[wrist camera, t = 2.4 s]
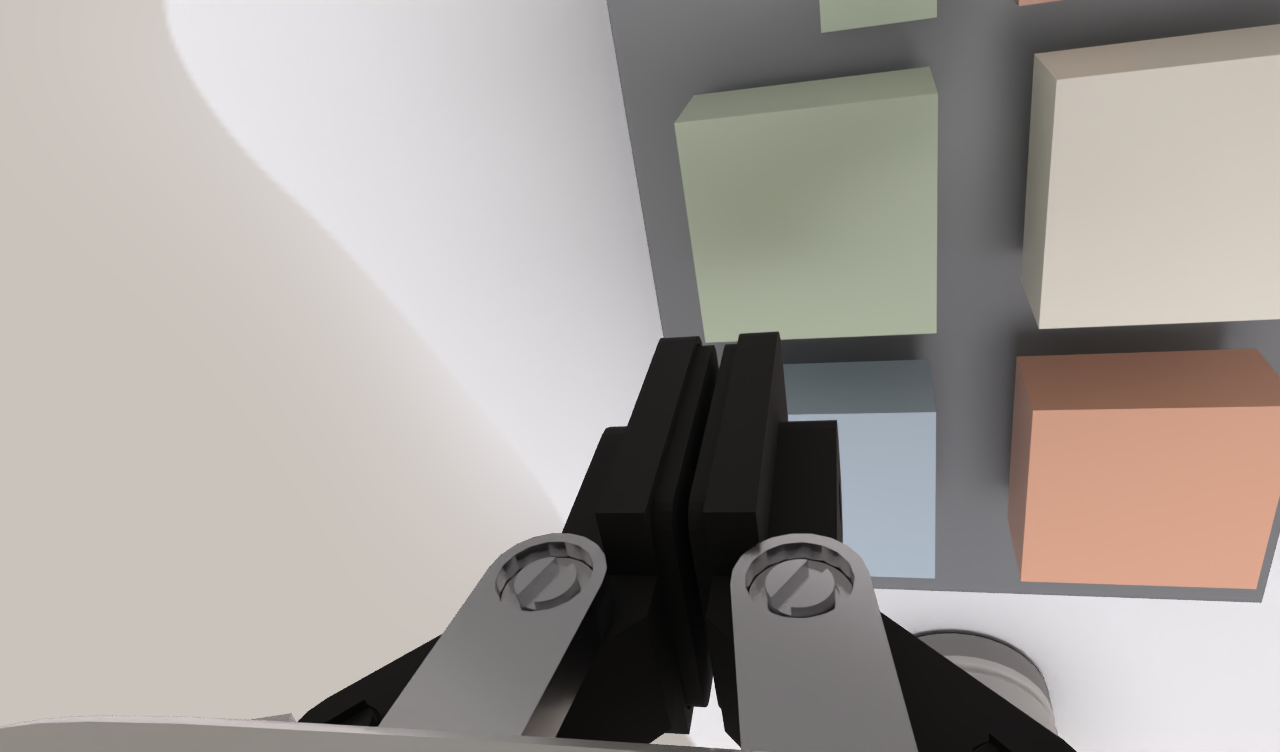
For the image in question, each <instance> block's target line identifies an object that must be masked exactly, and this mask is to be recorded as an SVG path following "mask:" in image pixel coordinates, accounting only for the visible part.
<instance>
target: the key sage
mask: <svg viewBox="0 0 1280 752" xmlns="http://www.w3.org/2000/svg"><path fill="white" fill-rule="evenodd" d="M674 126H675V133H676V140H677V147H678V154H679V161H680V168H681V175H682V182H683V189H684V196H685V203H686V210H687V217H688V224H689V231H690V238H691V245H692V252H693V259H694V266H695V273H696V280H697V287H698V294H699V301H700V308H701V315H702V322H703V329H704V336H705V343H710V342H735V341H738V337H739V334H743V333H760V332H778V331H779V334H780V339H781V340H784V339H808V338H832V337H857V336H881V335H906V334H930V333H936V332H937V172H938V92H937V89H936V85H935V82H934V79H933V76H932V73H931V69H930V67H921V68H913V69H905V70H897V71H888V72H880V73H872V74H864V75H856V76H847V77H839V78H831V79H823V80H814V81H806V82H798V83H790V84H782V85H773V86H765V87H757V88H749V89H740V90H732V91H724V92H716V93H708V94H699V95H694V96H693V97H692V99H691V100H690V102H689V103H688V104H687V106H686V107H685V109H684V110H683V111H682V113H681V114H680V116H679V117H678V118H677V120H676V121H675V123H674Z"/></svg>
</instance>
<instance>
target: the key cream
mask: <svg viewBox="0 0 1280 752" xmlns="http://www.w3.org/2000/svg"><path fill="white" fill-rule="evenodd" d="M1021 282H1022V285H1023V287H1024V290H1025V293H1026V296H1027V298H1028V301H1029V304H1030V306H1031V309H1032V312H1033V314H1034V317H1035V320H1036V323H1037V325H1038V328H1039V329H1052V328H1076V327H1101V326H1125V325H1150V324H1174V323H1198V322H1223V321H1247V320H1271V319H1280V24H1275V25H1267V26H1258V27H1250V28H1242V29H1234V30H1226V31H1217V32H1209V33H1201V34H1193V35H1184V36H1176V37H1168V38H1160V39H1152V40H1143V41H1135V42H1127V43H1119V44H1110V45H1102V46H1094V47H1086V48H1078V49H1069V50H1061V51H1053V52H1045V53H1036V54H1034V67H1033V84H1032V101H1031V118H1030V136H1029V153H1028V170H1027V187H1026V204H1025V221H1024V238H1023V255H1022V272H1021Z"/></svg>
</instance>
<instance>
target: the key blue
mask: <svg viewBox="0 0 1280 752" xmlns="http://www.w3.org/2000/svg"><path fill="white" fill-rule="evenodd" d="M783 369H784V380H785V391H786V401H787V412H788V421H817V420H837V424H838V438H839V454H840V471H841V491H842V519H843V544H845V545H847V546H849V547H850V548H851V549H852V550H853V551H855V552H856V553H857V554H858V555H859V556H860V557H861V558H862V559H863V561H864V563H865V565H866V567H867V569H868V571H869V574H870V576H873V577H903V578H934V579H935V493H936V408H935V401H934V393H933V385H932V377H931V370H930V362H929V359H927V360H897V361H867V362H837V363H807V364H783Z"/></svg>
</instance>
